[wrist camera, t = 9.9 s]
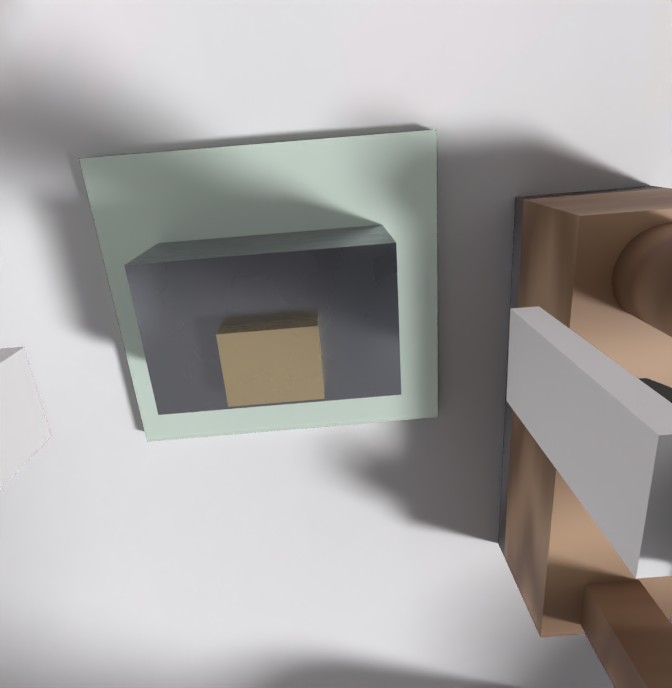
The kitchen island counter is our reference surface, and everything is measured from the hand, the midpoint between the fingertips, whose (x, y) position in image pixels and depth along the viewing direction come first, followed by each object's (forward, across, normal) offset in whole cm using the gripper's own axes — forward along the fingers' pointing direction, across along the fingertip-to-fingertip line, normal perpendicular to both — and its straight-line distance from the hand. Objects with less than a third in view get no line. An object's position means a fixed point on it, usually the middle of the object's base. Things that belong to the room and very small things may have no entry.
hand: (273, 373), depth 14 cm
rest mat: (+6, 0, 0) cm, 6 cm away
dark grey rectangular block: (+6, 0, 0) cm, 6 cm away
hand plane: (+7, -11, +4) cm, 14 cm away
